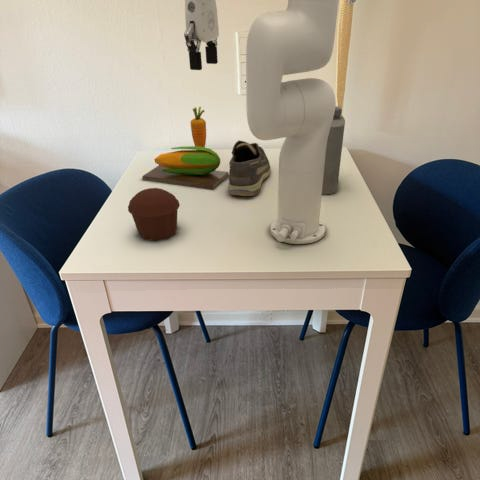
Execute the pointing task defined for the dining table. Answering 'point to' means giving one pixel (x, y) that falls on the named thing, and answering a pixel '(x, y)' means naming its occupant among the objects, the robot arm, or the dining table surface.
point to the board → (186, 178)
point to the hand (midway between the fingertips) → (204, 66)
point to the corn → (189, 161)
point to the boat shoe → (247, 169)
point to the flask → (333, 153)
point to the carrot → (198, 128)
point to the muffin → (154, 213)
